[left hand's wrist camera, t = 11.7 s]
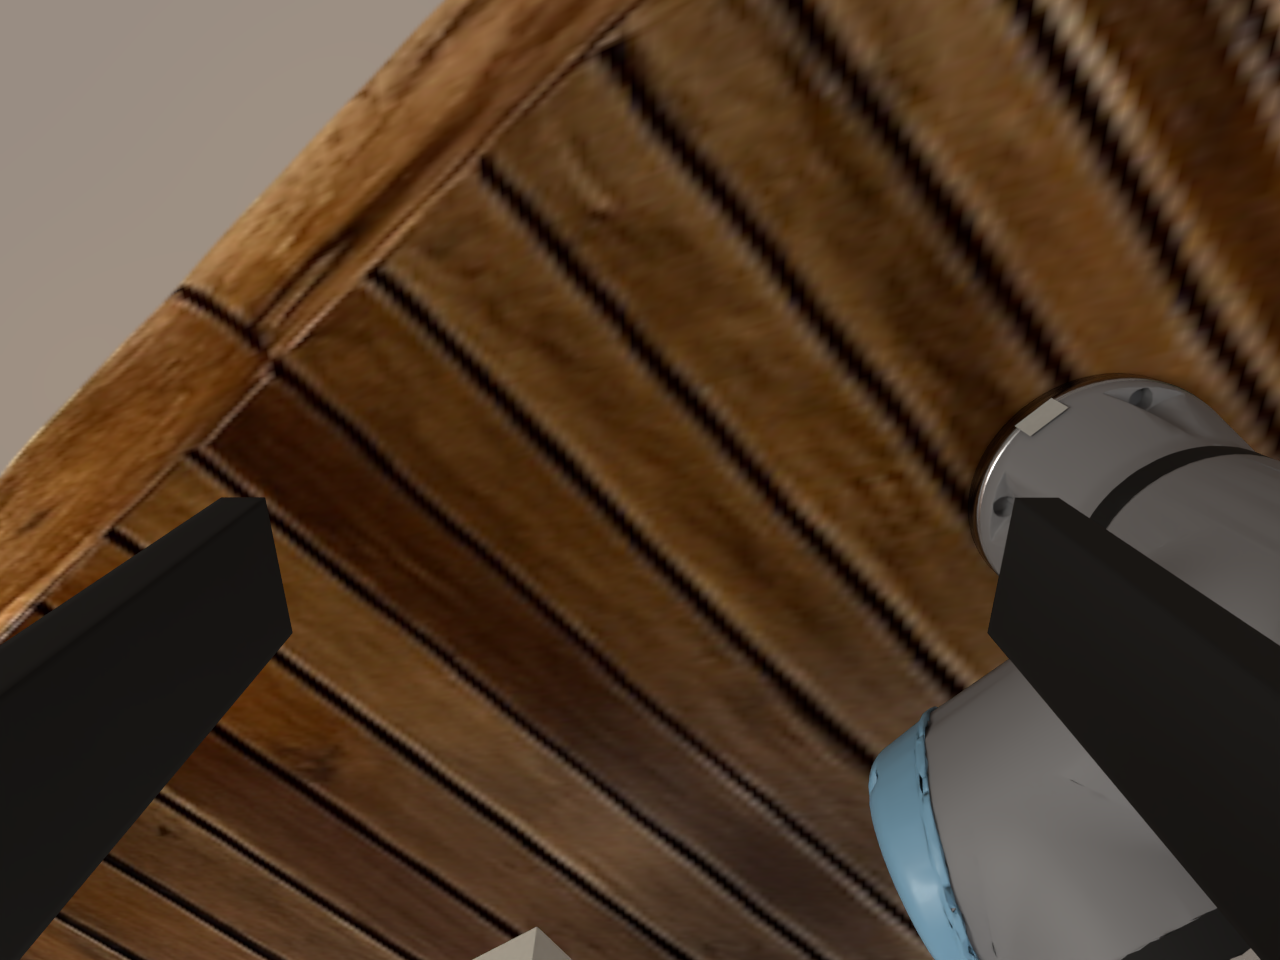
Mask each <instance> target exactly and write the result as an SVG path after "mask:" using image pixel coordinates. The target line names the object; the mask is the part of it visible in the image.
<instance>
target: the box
mask: <svg viewBox="0 0 1280 960" xmlns="http://www.w3.org/2000/svg"><path fill="white" fill-rule="evenodd" d="M473 960H572V959H571V958H570V957H569V956H568V955H567V954H565V953H564V952H563V951H562V950H561V949H560V948H559V947H558V946H557V945H556V944H555V943H554V942H553V941H552V940H551V939H550V938H549V937H548V936H547V935H546V934H545V933H543V932H542V931H541V930H540V929H539V928H538V927H535V928H533V929H531V930H529V931H527V932H526V933H524V934H522V935H520V936H518V937H516V938H514V939H512V940H510V941H508V942H506V943H504V944H502V945H500V946H498V947H496V948H494V949H492V950H491V951H489V952H487V953H485V954H483V955H481V956H479V957H477V958H475V959H473Z"/></svg>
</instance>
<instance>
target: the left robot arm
mask: <svg viewBox="0 0 1280 960" xmlns="http://www.w3.org/2000/svg"><path fill="white" fill-rule="evenodd" d="M968 516H969V525H970V530H971V534H972V537H973V540H974V543H975V545H976V547H977V549H978V551H979V553H980V554H981V556H982V558H983V559H984V561H985V562H986V563H987V564H988V565H989V567H990V568H991V569H992V570H993V571H994V572H995V573H996V574H997V575H998V576H999V579H998V584H997V589H996V593H995V598H994V603H993V608H992V613H991V618H990V623H989V628H988V634H989V635H990V637H991V638H992V639H993V640H994V641H995V643H996V644H997V645H998V646H999V647H1000V649H1001V650H1002V651H1003V652H1004V653H1005V654H1006V656H1007V657H1008V658H1009V659H1008V660H1007V661H1005V662H1004V663H1002V664H1001V665H1000V666H998V667H997V668H995V669H994V670H992V671H991V672H989V673H988V674H987V675H985V676H984V677H982V678H981V679H979V680H978V681H976V682H975V683H974V684H972V685H971V686H969V687H968V688H966V689H965V690H963V691H962V692H960V693H959V694H958V695H956V696H955V697H953V698H952V699H950V700H949V701H947V702H946V703H944V704H943V705H941V706H940V707H936V706H934V707H932V708H930V709H928V710H927V711H926V712H924V713H923V714H922V717H921V719H920V721H919V722H917V723H916V724H915V725H914V726H912V727H911V728H910V729H909V730H907V731H906V732H905V733H903V734H902V735H901V736H900V737H898V738H897V739H896V740H895V741H893V742H892V743H891V744H890V745H888V746H887V747H886V748H884V749H883V750H882V751H881V752H880V754H879V755H878V756H877V758H876V759H875V761H874V763H873V765H872V768H871V772H870V779H869V795H870V803H869V804H870V810H871V816H872V821H873V825H874V829H875V833H876V836H877V839H878V843H879V846H880V849H881V852H882V855H883V857H884V860H885V863H886V866H887V868H888V871H889V873H890V876H891V878H892V880H893V883H894V885H895V887H896V890H897V892H898V894H899V896H900V898H901V900H902V902H903V905H904V907H905V909H906V911H907V913H908V915H909V917H910V918H911V920H912V922H913V924H914V926H915V928H916V930H917V932H918V934H919V935H920V937H921V939H922V941H923V942H924V944H925V946H926V947H927V949H928V951H929V952H930V954H931V955H932V957H933V958H934V959H935V960H1280V461H1278V460H1275V459H1272V458H1269V457H1267V456H1264V455H1261V454H1259V453H1256V452H1255V451H1254V450H1253V449H1252V448H1251V447H1250V446H1249V445H1248V444H1247V443H1246V442H1245V441H1244V440H1243V439H1242V438H1241V437H1240V436H1239V435H1238V434H1237V433H1236V432H1235V431H1234V430H1233V429H1232V428H1231V427H1230V426H1229V425H1228V424H1227V423H1226V422H1225V421H1224V420H1223V419H1222V418H1221V417H1220V416H1219V415H1218V414H1217V413H1216V412H1215V411H1214V410H1213V409H1212V408H1211V407H1209V406H1208V405H1207V404H1206V403H1204V402H1203V401H1202V400H1200V399H1199V398H1198V397H1196V396H1195V395H1193V394H1192V393H1190V392H1188V391H1186V390H1184V389H1182V388H1179V387H1177V386H1174V385H1172V384H1168V383H1165V382H1162V381H1159V380H1156V379H1152V378H1149V377H1145V376H1140V375H1134V374H1120V373H1116V374H1102V375H1095V376H1090V377H1085V378H1081V379H1078V380H1075V381H1072V382H1069V383H1066V384H1064V385H1061V386H1059V387H1056V388H1054V389H1052V390H1050V391H1048V392H1047V393H1045V394H1043V395H1041V396H1040V397H1038V398H1036V399H1035V400H1033V401H1032V402H1030V403H1029V404H1028V405H1026V406H1025V407H1024V408H1022V409H1021V410H1020V411H1019V412H1018V413H1017V414H1015V415H1014V416H1013V417H1012V418H1011V419H1010V420H1009V421H1008V422H1007V423H1006V424H1005V425H1004V426H1003V427H1002V428H1001V430H1000V431H999V432H998V433H997V435H996V436H995V437H994V438H993V440H992V441H991V443H990V444H989V446H988V447H987V449H986V451H985V452H984V454H983V456H982V458H981V460H980V462H979V464H978V466H977V469H976V471H975V474H974V477H973V480H972V484H971V488H970V494H969V502H968ZM291 634H292V628H291V623H290V618H289V613H288V608H287V603H286V598H285V593H284V589H283V584H282V579H281V574H280V569H279V564H278V559H277V554H276V549H275V544H274V539H273V534H272V529H271V524H270V519H269V515H268V510H267V505H266V500H265V498H220V499H218V500H217V501H215V502H214V503H212V504H211V505H209V506H208V507H206V508H205V509H203V510H202V511H200V512H199V513H197V514H196V515H194V516H193V517H192V518H190V519H189V520H187V521H186V522H184V523H183V524H181V525H180V526H178V527H177V528H175V529H174V530H172V531H171V532H169V533H168V534H166V535H165V536H163V537H162V538H160V539H159V540H157V541H156V542H154V543H153V544H151V545H150V546H148V547H147V548H145V549H144V550H142V551H141V552H139V553H138V554H136V555H135V556H133V557H132V558H130V559H129V560H127V561H126V562H124V563H123V564H121V565H120V566H118V567H117V568H115V569H114V570H112V571H111V572H109V573H108V574H106V575H105V576H103V577H102V578H100V579H99V580H97V581H96V582H94V583H93V584H91V585H90V586H88V587H87V588H85V589H84V590H83V591H81V592H80V593H78V594H77V595H75V596H74V597H72V598H71V599H69V600H68V601H66V602H65V603H63V604H62V605H60V606H59V607H57V608H56V609H54V610H53V611H51V612H50V613H48V614H47V615H45V616H44V617H42V618H41V619H39V620H38V621H36V622H35V623H33V624H32V625H30V626H29V627H27V628H26V629H24V630H23V631H21V632H20V633H18V634H17V635H15V636H14V637H12V638H11V639H9V640H8V641H6V642H5V643H3V644H2V645H0V960H20V958H21V957H22V956H23V955H24V954H25V952H26V951H27V950H28V949H29V948H30V946H31V945H32V944H33V943H34V942H35V940H36V939H37V938H38V937H39V936H40V934H41V933H42V932H43V931H44V930H45V929H46V927H47V926H48V925H49V924H50V923H51V921H52V920H53V919H54V918H55V917H56V915H57V914H58V913H59V912H60V911H61V909H62V908H63V907H64V906H65V905H66V903H67V902H68V901H69V900H70V899H71V897H72V896H73V895H74V894H75V893H76V891H77V890H78V889H79V888H80V887H81V885H82V884H83V883H84V882H85V881H86V879H87V878H88V877H89V876H90V875H91V873H92V872H93V871H94V870H95V869H96V867H97V866H98V865H99V864H100V863H101V862H102V860H103V859H104V858H105V857H106V856H107V854H108V853H109V852H110V851H111V850H112V848H113V847H114V846H115V845H116V844H117V842H118V841H119V840H120V839H121V838H122V836H123V835H124V834H125V833H126V832H127V830H128V829H129V828H130V827H131V826H132V824H133V823H134V822H135V821H136V820H137V818H138V817H139V816H140V815H141V814H142V812H143V811H144V810H145V809H146V808H147V806H148V805H149V804H150V803H151V802H152V800H153V799H154V798H155V797H156V796H157V794H158V793H159V792H160V791H161V790H162V789H163V787H164V786H165V785H166V784H167V783H168V781H169V780H170V779H171V778H172V777H173V775H174V774H175V773H176V772H177V771H178V769H179V768H180V767H181V766H182V765H183V763H184V762H185V761H186V760H187V759H188V757H189V756H190V755H191V754H192V753H193V751H194V750H195V749H196V748H197V747H198V745H199V744H200V743H201V742H202V741H203V739H204V738H205V737H206V736H207V735H208V733H209V732H210V731H211V730H212V729H213V727H214V726H215V725H216V724H217V723H218V722H219V720H220V719H221V718H222V717H223V716H224V714H225V713H226V712H227V711H228V710H229V708H230V707H231V706H232V705H233V704H234V702H235V701H236V700H237V699H238V698H239V696H240V695H241V694H242V693H243V692H244V690H245V689H246V688H247V687H248V686H249V684H250V683H251V682H252V681H253V680H254V678H255V677H256V676H257V675H258V674H259V672H260V671H261V670H262V669H263V668H264V666H265V665H266V664H267V663H268V662H269V660H270V659H271V658H272V657H273V656H274V654H275V653H276V652H277V651H278V650H279V649H280V647H281V646H282V645H283V644H284V643H285V641H286V640H287V639H288V638H289V637H290V635H291Z"/></svg>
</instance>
